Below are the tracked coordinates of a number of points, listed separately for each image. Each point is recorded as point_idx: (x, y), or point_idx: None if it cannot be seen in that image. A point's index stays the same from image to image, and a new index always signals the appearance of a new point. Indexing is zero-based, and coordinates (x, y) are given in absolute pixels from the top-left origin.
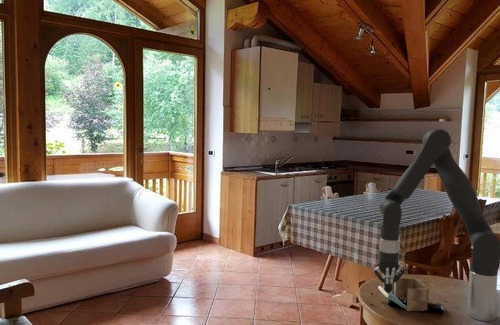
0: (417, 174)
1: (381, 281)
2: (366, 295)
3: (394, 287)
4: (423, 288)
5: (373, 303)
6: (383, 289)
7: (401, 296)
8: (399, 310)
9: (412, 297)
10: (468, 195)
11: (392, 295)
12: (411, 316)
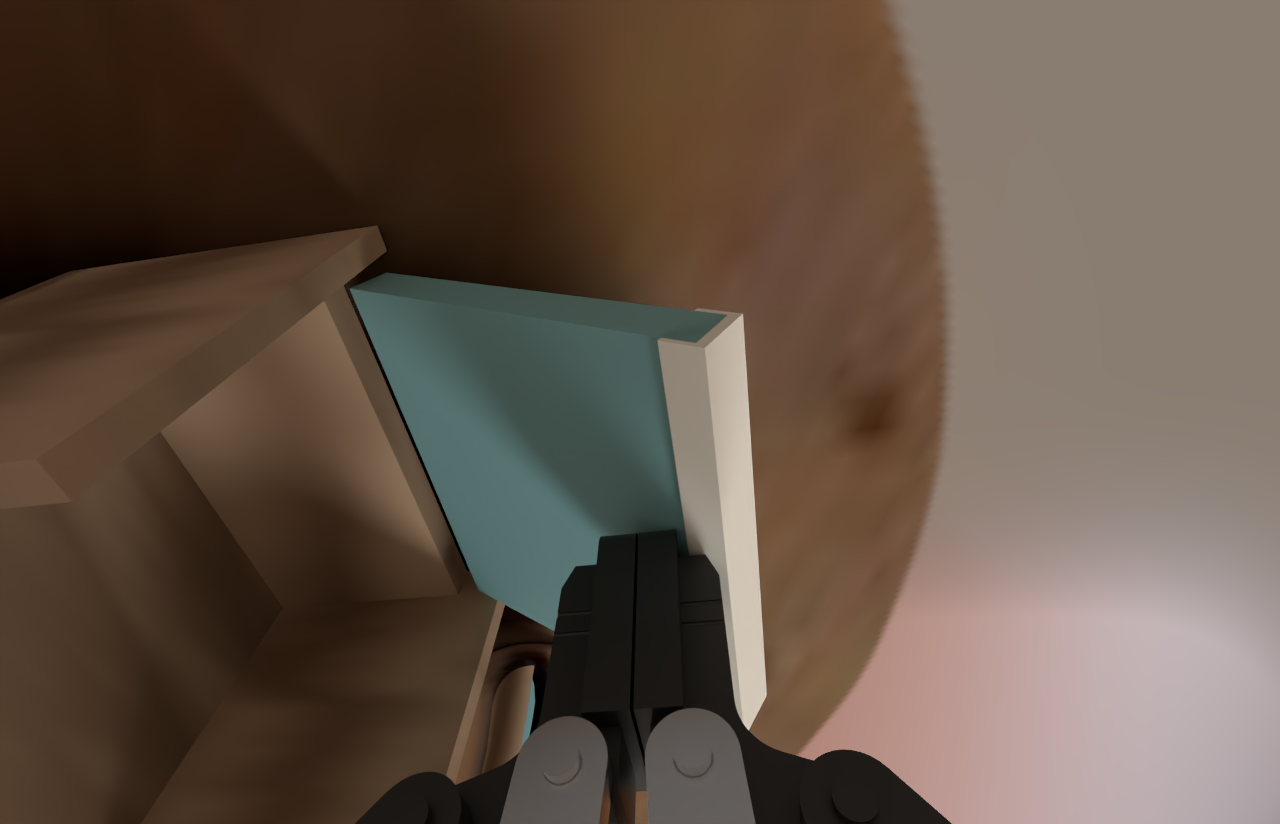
0: None
1: (898, 781)
2: (831, 631)
3: (480, 746)
4: None
5: (833, 447)
6: (726, 615)
7: (419, 605)
8: (496, 260)
9: (120, 343)
10: None
11: (551, 545)
12: (305, 21)
